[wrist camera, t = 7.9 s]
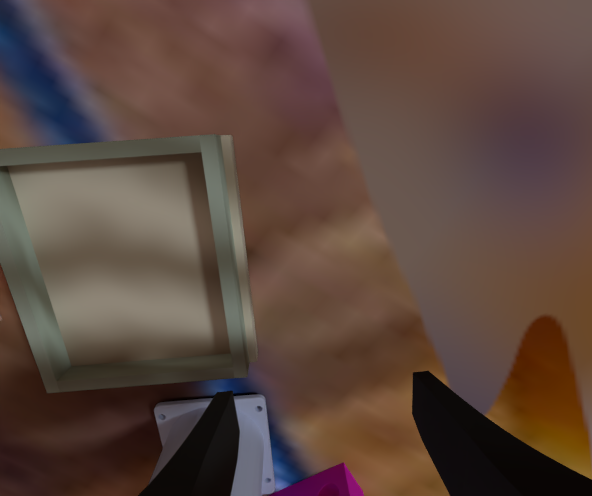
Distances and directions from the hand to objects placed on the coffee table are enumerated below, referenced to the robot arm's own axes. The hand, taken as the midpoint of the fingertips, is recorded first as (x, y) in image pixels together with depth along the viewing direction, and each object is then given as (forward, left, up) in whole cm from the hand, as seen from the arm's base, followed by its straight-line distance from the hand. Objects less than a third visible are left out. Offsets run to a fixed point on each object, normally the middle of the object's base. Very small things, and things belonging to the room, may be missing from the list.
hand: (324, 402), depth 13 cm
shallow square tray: (+3, +11, -9) cm, 15 cm away
